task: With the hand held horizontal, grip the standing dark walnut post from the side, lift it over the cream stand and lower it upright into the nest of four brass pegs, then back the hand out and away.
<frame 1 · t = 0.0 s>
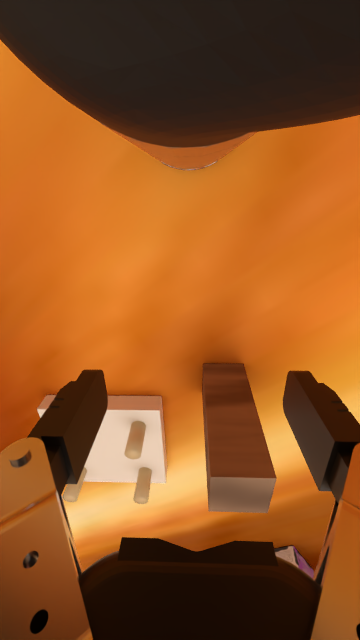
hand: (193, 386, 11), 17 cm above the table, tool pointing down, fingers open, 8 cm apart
walnut post: (222, 379, 33), on the table
candy box: (290, 558, 57), on the table
peg stand: (112, 434, 39), on the table
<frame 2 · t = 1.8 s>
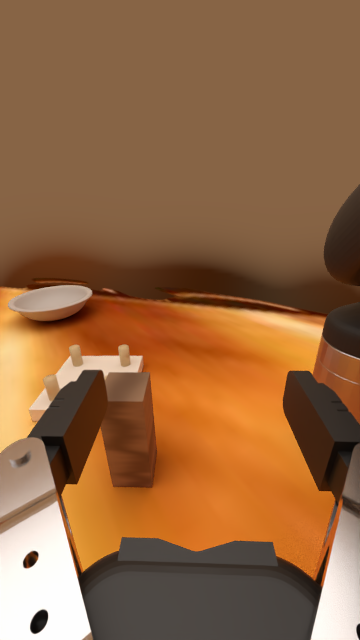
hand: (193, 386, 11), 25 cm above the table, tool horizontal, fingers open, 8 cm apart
soup bowl: (57, 316, 84), on the table
walnut post: (136, 468, 35), on the table
peg stand: (95, 389, 50), on the table
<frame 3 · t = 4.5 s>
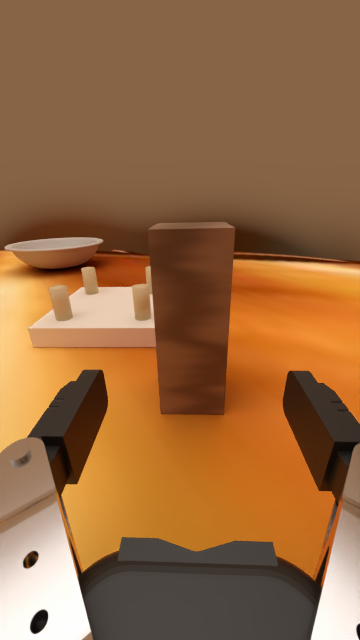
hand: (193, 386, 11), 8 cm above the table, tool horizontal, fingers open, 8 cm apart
soup bowl: (61, 267, 72), on the table
walnut post: (191, 393, 23), on the table
peg stand: (116, 319, 38), on the table
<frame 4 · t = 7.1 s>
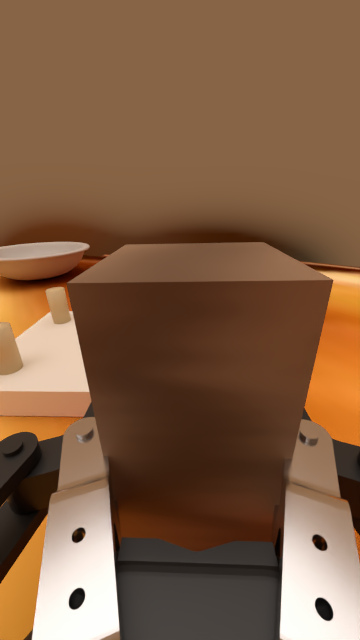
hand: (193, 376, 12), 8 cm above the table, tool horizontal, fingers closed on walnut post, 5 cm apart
soup bowl: (41, 277, 62), on the table
walnut post: (194, 539, 13), on the table, touching gripper
peg stand: (91, 360, 28), on the table
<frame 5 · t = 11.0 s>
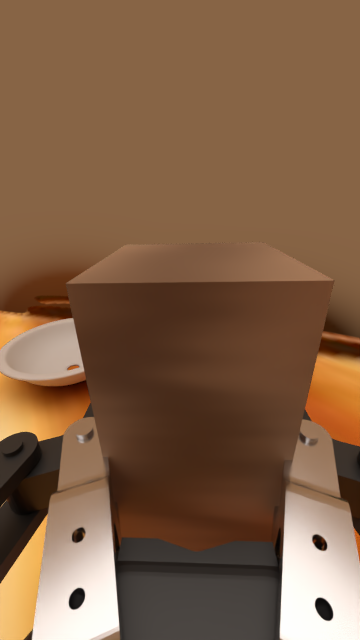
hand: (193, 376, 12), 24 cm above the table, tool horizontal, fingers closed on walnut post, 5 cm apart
soup bowl: (73, 369, 54), on the table
walnut post: (194, 540, 13), point 16 cm above the table, touching gripper
when the fingers open (11 cm above the table, at t = 14.9 s): walnut post stays where it is, resting on peg stand.
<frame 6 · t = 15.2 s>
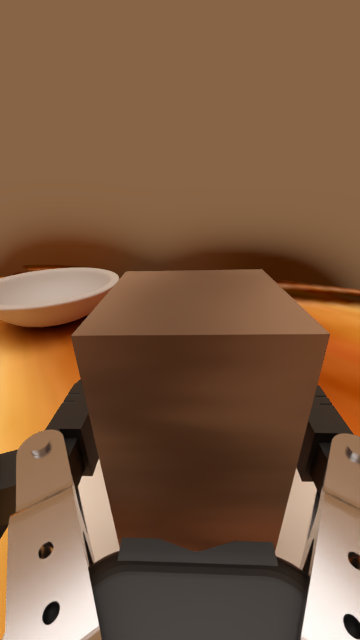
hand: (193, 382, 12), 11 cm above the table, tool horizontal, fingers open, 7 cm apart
soup bowl: (58, 318, 48), on the table
walnut post: (194, 553, 13), point 3 cm above the table, touching peg stand
peg stand: (194, 575, 14), on the table
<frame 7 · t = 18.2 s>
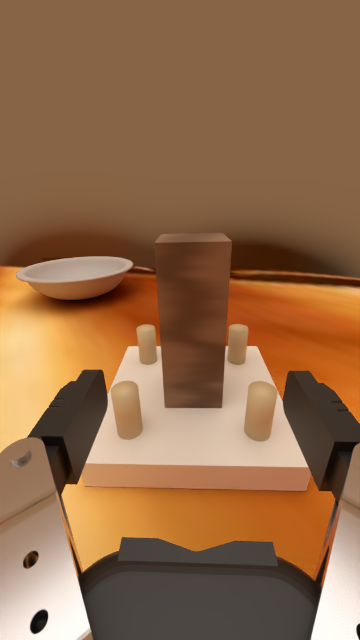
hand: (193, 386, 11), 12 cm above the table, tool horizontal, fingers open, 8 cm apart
soup bowl: (83, 295, 60), on the table
walnut post: (192, 389, 25), point 2 cm above the table, touching peg stand
peg stand: (192, 408, 26), on the table
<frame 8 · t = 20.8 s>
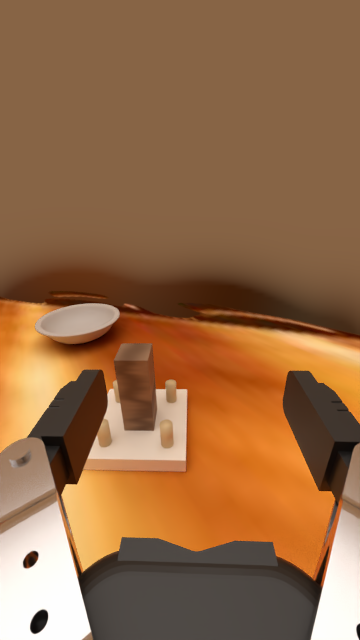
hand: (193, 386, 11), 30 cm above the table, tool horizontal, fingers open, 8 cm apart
soup bowl: (83, 337, 81), on the table
walnut post: (141, 419, 46), point 2 cm above the table, touching peg stand
peg stand: (142, 429, 47), on the table
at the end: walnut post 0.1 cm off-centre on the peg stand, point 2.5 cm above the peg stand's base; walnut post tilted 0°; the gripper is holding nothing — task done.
